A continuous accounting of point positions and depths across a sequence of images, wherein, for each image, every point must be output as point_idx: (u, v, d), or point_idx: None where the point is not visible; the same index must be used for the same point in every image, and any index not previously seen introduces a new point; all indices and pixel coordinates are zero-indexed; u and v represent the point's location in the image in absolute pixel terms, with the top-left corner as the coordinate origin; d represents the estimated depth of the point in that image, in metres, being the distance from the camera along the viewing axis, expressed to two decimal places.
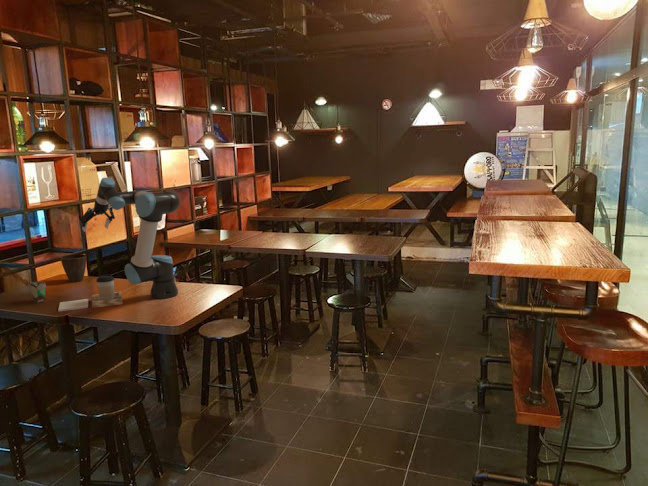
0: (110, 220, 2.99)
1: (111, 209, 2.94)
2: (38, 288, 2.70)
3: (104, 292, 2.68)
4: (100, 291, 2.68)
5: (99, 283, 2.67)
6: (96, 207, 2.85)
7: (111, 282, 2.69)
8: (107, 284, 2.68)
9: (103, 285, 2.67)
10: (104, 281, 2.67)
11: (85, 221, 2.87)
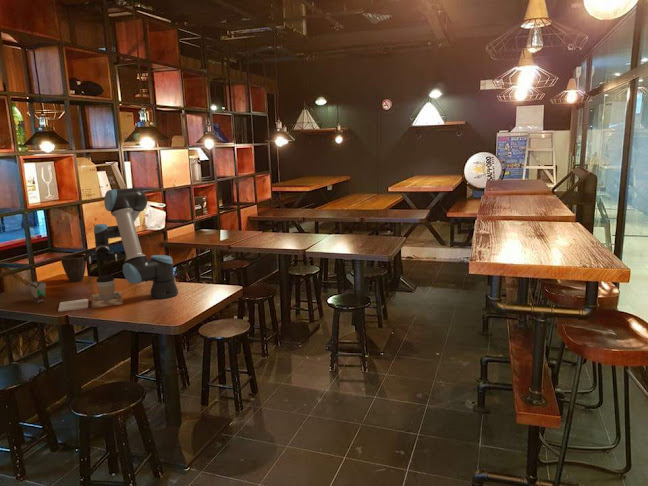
0: (116, 253, 2.86)
1: (114, 251, 2.93)
2: (38, 288, 2.70)
3: (104, 292, 2.68)
4: (100, 291, 2.68)
5: (99, 283, 2.67)
6: (96, 252, 2.92)
7: (111, 282, 2.69)
8: (107, 284, 2.68)
9: (103, 285, 2.67)
10: (104, 281, 2.67)
11: (87, 256, 2.81)
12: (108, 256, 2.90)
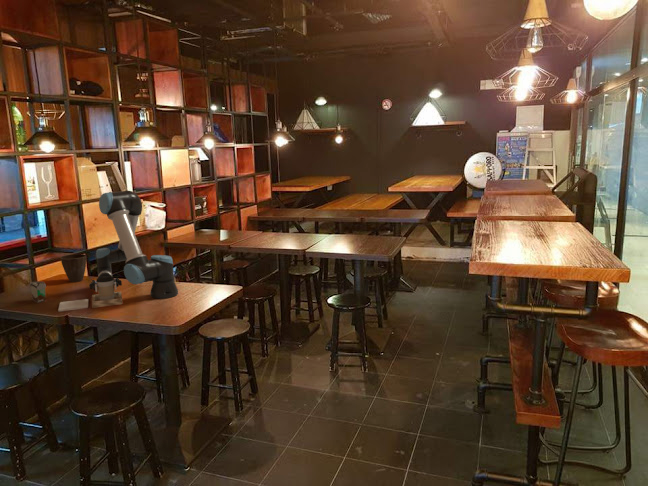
0: (115, 281, 2.75)
1: None
2: (38, 288, 2.70)
3: (104, 292, 2.68)
4: (100, 291, 2.68)
5: (99, 283, 2.67)
6: None
7: (111, 282, 2.69)
8: (107, 284, 2.68)
9: (103, 285, 2.67)
10: (104, 281, 2.67)
11: (93, 284, 2.72)
12: None
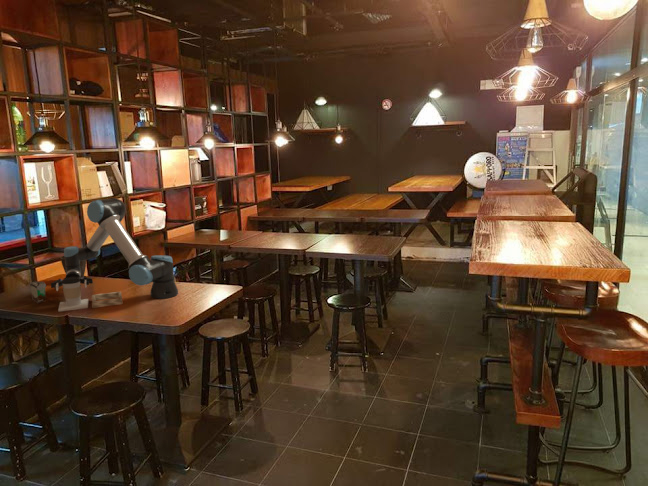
0: (86, 279, 2.70)
1: (84, 276, 2.78)
2: (38, 288, 2.70)
3: (70, 294, 2.62)
4: (66, 293, 2.62)
5: (64, 285, 2.61)
6: (65, 277, 2.76)
7: (77, 284, 2.63)
8: (73, 286, 2.61)
9: (68, 287, 2.61)
10: (69, 283, 2.60)
11: (55, 283, 2.66)
12: None
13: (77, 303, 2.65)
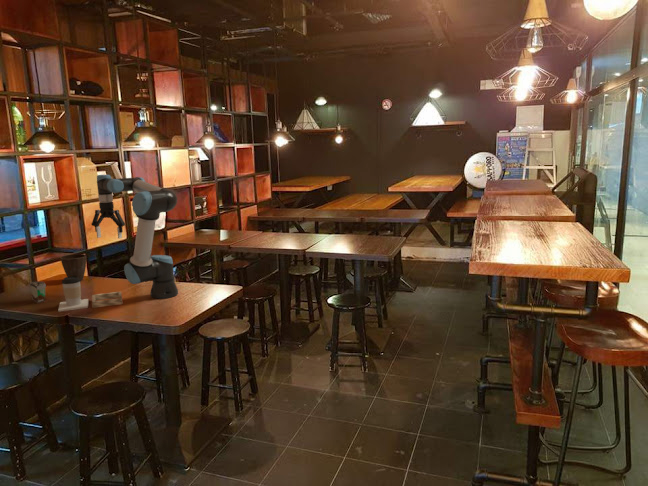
0: (118, 226, 2.86)
1: (115, 212, 2.85)
2: (38, 288, 2.70)
3: (70, 294, 2.62)
4: (66, 293, 2.62)
5: (64, 285, 2.61)
6: None
7: (77, 284, 2.63)
8: (73, 286, 2.61)
9: (68, 287, 2.61)
10: (69, 283, 2.60)
11: (95, 224, 2.89)
12: None
13: (77, 303, 2.65)
